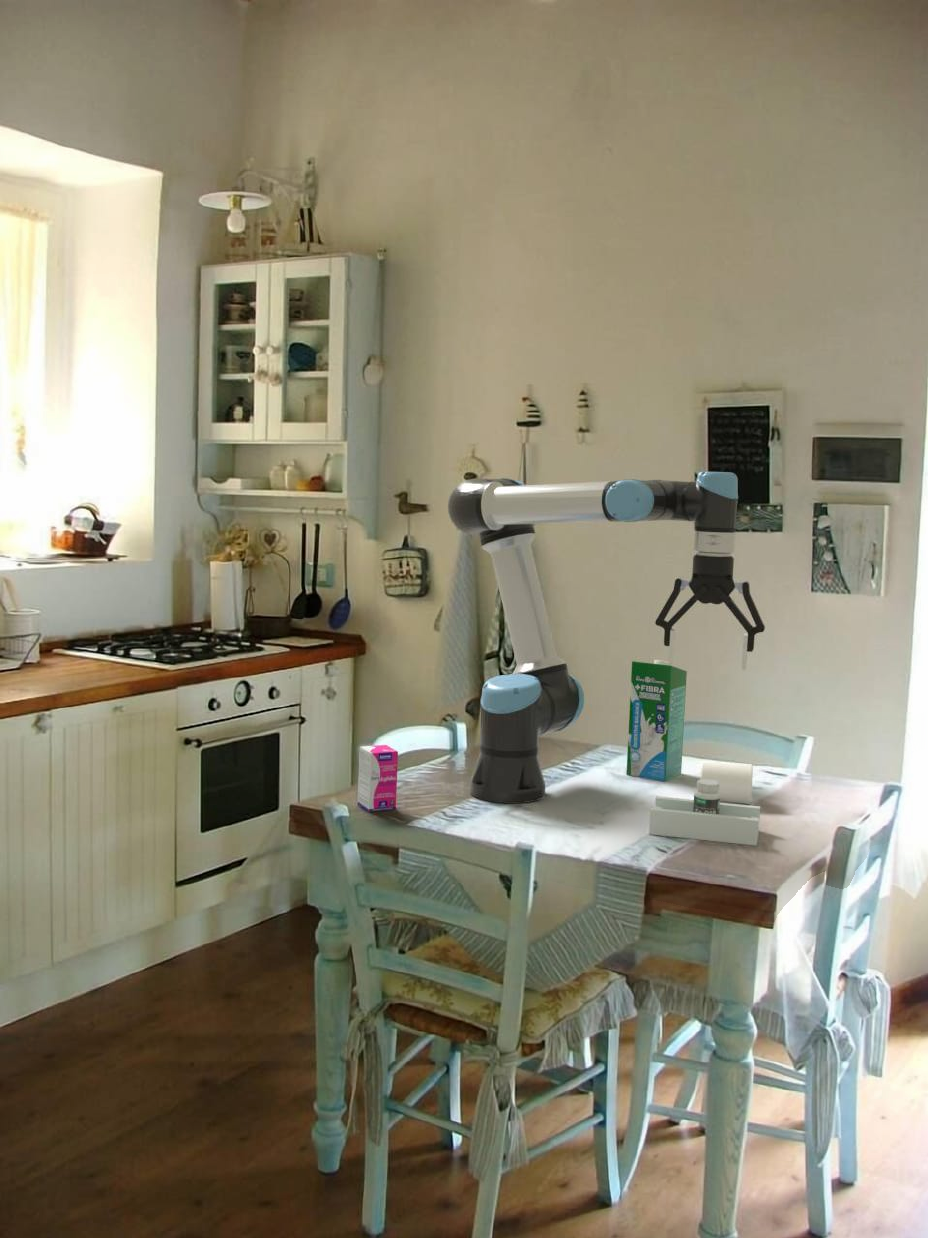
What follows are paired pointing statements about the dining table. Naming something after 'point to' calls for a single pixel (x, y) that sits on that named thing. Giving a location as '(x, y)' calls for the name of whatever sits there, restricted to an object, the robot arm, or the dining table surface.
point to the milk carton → (656, 720)
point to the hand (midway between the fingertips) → (707, 666)
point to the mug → (730, 780)
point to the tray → (705, 821)
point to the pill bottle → (707, 797)
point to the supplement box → (377, 778)
